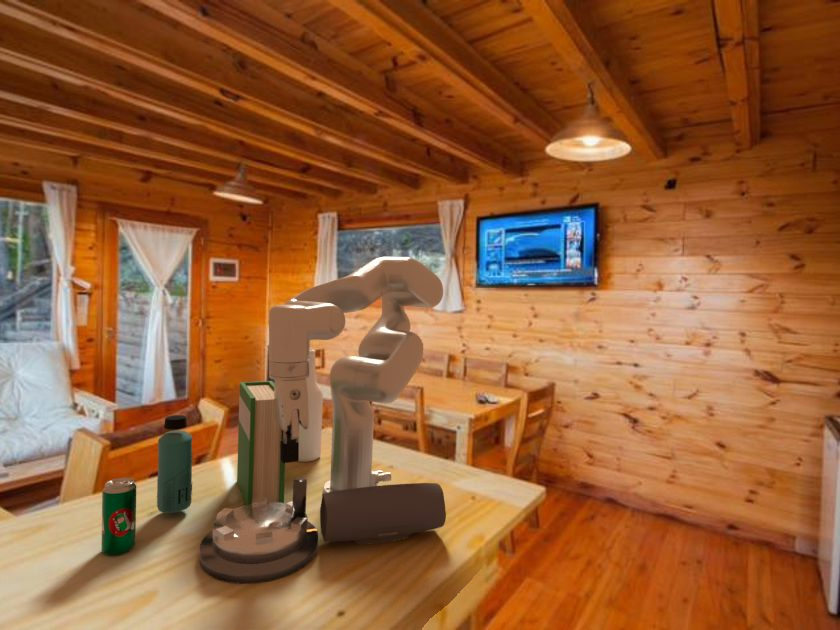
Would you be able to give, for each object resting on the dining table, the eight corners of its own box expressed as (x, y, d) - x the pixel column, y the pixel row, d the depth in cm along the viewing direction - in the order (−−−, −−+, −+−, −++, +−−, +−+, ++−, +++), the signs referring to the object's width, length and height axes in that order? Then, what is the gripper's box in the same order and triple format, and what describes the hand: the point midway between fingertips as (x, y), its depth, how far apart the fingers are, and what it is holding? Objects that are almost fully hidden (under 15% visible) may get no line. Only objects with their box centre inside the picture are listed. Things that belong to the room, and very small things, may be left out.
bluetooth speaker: (429, 520, 102) (431, 473, 101) (445, 542, 93) (448, 491, 92) (318, 533, 94) (320, 482, 94) (325, 558, 86) (327, 503, 85)
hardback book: (283, 506, 105) (287, 396, 104) (247, 512, 101) (250, 398, 100) (268, 477, 120) (271, 380, 119) (237, 481, 117) (239, 382, 116)
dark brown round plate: (306, 517, 100) (307, 506, 100) (328, 569, 82) (329, 556, 82) (200, 532, 92) (200, 520, 92) (198, 594, 74) (198, 580, 74)
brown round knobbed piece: (313, 554, 83) (315, 497, 82) (210, 570, 77) (212, 509, 76) (300, 512, 97) (302, 464, 97) (213, 523, 92) (215, 472, 91)
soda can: (111, 541, 88) (112, 476, 87) (140, 542, 88) (141, 476, 88) (95, 557, 83) (96, 487, 82) (126, 557, 83) (127, 488, 82)
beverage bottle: (177, 522, 96) (179, 422, 95) (148, 518, 97) (150, 418, 96) (198, 508, 102) (201, 414, 101) (171, 504, 103) (173, 411, 102)
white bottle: (324, 453, 140) (328, 348, 138) (315, 463, 131) (319, 352, 130) (294, 450, 140) (298, 347, 139) (283, 461, 132) (287, 350, 130)
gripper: (318, 375, 89) (318, 472, 91) (299, 360, 103) (299, 445, 104) (276, 378, 86) (277, 479, 88) (262, 363, 99) (263, 450, 101)
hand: (289, 460), depth 96 cm, fingers closed
